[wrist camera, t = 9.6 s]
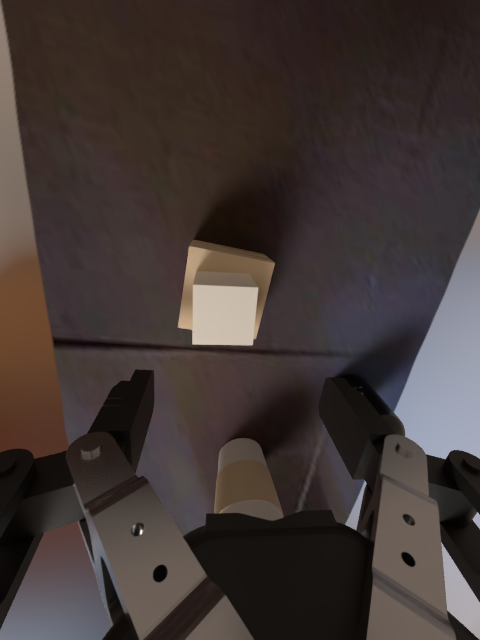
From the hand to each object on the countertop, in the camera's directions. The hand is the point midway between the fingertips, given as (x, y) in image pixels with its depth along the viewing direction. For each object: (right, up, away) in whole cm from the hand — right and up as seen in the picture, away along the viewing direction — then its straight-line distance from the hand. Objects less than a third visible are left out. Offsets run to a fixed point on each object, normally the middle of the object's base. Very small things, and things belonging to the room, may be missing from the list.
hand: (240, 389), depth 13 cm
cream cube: (-2, +5, +14) cm, 15 cm away
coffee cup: (0, -18, +30) cm, 34 cm away
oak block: (-2, +8, +19) cm, 21 cm away
